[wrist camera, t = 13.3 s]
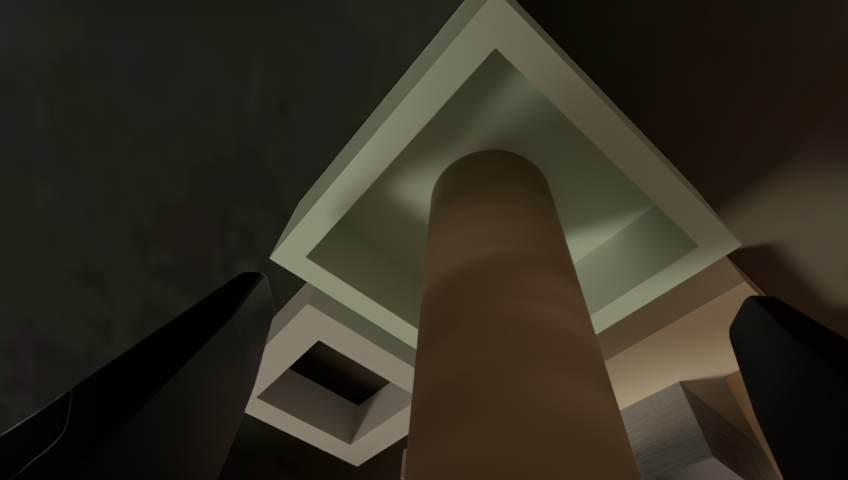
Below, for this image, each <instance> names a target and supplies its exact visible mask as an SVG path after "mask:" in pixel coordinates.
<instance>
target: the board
mask: <svg viewBox="0 0 848 480" xmlns="http://www.w3.org/2000/svg"><path fill="white" fill-rule="evenodd" d="M752 295H760V296H766V295H765V294H764V293H763V292H762V291H761V290H760V289H759V288H758V287H757V286H756V285H755V284H754V283H753V282H752V281H751V280H750V279H749V278H748V277H747V276H746V275H745V274H744V273H743V272H742V271H741V270H740V269H739V268H738V267H737V266H736V265H735V264H734V263H733V262H732V261H731V260H730V259H729V258H728V257H727V256H724V257H722V258H721V259H719V260H718V261H716V262H714V263H713V264H711V265H709V266H708V267H706V268H704V269H703V270H701V271H700V272H698V273H696V274H695V275H693V276H691V277H690V278H688V279H686V280H685V281H683V282H682V283H680V284H678V285H677V286H675V287H673V288H672V289H670V290H668V291H667V292H665V293H664V294H662V295H660V296H659V297H657V298H655V299H654V300H652V301H651V302H649V303H647V304H646V305H644V306H642V307H641V308H639V309H637V310H636V311H634V312H633V313H631V314H629V315H628V316H626V317H624V318H623V319H621V320H619V321H618V322H616V323H615V324H613V325H611V326H610V327H608V328H606V329H605V330H603V331H601V332H600V333H598V334H597V335H596V337H597V340H598V343H599V346H600V350H601V353H602V356H603V359H604V362H605V365H606V369H607V372H608V375H609V378H610V381H611V384H612V388H613V391H614V394H615V397H616V400H617V403H618V407H619V410H622V409H624V408H626V407H628V406H630V405H632V404H634V403H636V402H638V401H640V400H642V399H644V398H646V397H648V396H650V395H652V394H654V393H656V392H658V391H660V390H662V389H664V388H666V387H668V386H670V385H672V384H674V383H676V382H678V381H679V382H680V383H681V384H683V385H684V386H685V387H686V388H688V389H689V390H690V391H691V392H693V393H694V394H695V395H696V396H698V397H699V398H700V399H701V400H702V401H704V402H705V403H706V404H707V405H709V406H710V407H711V408H712V409H714V410H715V411H716V412H717V413H719V414H720V415H721V416H722V417H723V418H725V419H726V420H727V421H728V422H730V423H731V424H732V425H733V426H735V427H736V428H737V429H738V430H740V431H741V432H742V433H743V434H744V435H746V436H747V437H748V438H749V439H751V440H752V441H753V442H754V443H756V444H757V445H758V446H759V447H761V448H762V449H763V450H764V451H765V453H766V454H767V456H768V458H769V460H770V462H771V463H772V465H773V467H774V469H775V471H776V472H777V474H778V476H779V477H780V478H781V479H782V480H783V478H782V475H781V473H780V471H779V469H778V467H777V464H776V462H775V460H774V458H773V455H772V453H771V451H770V449H769V447H768V444H767V442H766V440H765V438H764V435H763V433H762V431H761V429H760V426H759V424H758V422H757V419H756V417H755V415H754V412H753V409H752V406H751V404H750V401H749V398H748V395H747V391H746V388H745V385H744V382H743V379H742V376H741V373H740V370H739V367H738V364H737V361H736V358H735V355H734V351H733V348H732V345H731V342H730V338H729V329H730V325H731V323H732V322H733V320H734V318H735V316H736V314H737V312H738V310H739V309H740V307H741V305H742V303H743V301H744V300H745V299H746V298H747V297H748V296H752ZM406 453H407V448H406V449H404V450H403V459H402V468H401V478H400V479H402V480H404V473H405V463H406Z"/></svg>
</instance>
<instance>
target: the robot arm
mask: <svg viewBox="0 0 848 480" xmlns="http://www.w3.org/2000/svg"><path fill="white" fill-rule="evenodd" d="M273 315H274V303H273V299H272V294H271V290H270V286H269V282H268V279H267V276H266V275H265V274H264V273H259V272H243V273H241V274H239V275H238V276H237V277H235V278H234V279H232V280H231V281H229V282H228V283H226V284H225V285H223V286H222V287H220V288H219V289H217V290H216V291H214V292H213V293H211V294H210V295H208V296H207V297H206V298H204V299H203V300H201V301H200V302H198V303H197V304H195V305H194V306H192V307H191V308H189V309H188V310H186V311H185V312H183V313H182V314H180V315H179V316H177V317H176V318H175V319H173V320H172V321H170V322H169V323H167V324H166V325H164V326H163V327H161V328H160V329H158V330H157V331H155V332H154V333H152V334H151V335H149V336H148V337H146V338H145V339H144V340H142V341H141V342H139V343H138V344H136V345H135V346H133V347H132V348H130V349H129V350H127V351H126V352H124V353H123V354H121V355H120V356H118V357H117V358H115V359H114V360H112V361H111V362H110V363H108V364H107V365H105V366H104V367H102V368H101V369H99V370H98V371H96V372H95V373H93V374H92V375H90V376H89V377H87V378H86V379H84V380H83V381H81V382H80V383H78V384H77V385H76V386H74V387H73V388H72V389H71V392H69V391H67V392H65V393H64V394H62V395H61V396H59V397H58V398H56V399H55V400H53V401H52V402H50V403H49V404H47V405H46V406H44V407H43V408H41V409H40V410H38V411H37V412H35V413H34V414H32V415H31V416H29V417H28V418H26V419H24V420H23V421H21V422H20V423H18V424H17V425H15V426H14V427H12V428H11V429H9V430H8V431H6V432H4V433H3V434H1V435H0V480H218V478H219V475H220V473H221V470H222V468H223V465H224V462H225V460H226V457H227V455H228V452H229V450H230V447H231V445H232V442H233V440H234V437H235V435H236V432H237V430H238V427H239V424H240V422H241V419H242V417H243V414H244V412H245V409H246V407H247V404H248V402H249V399H250V397H251V394H252V391H253V388H254V386H255V382H256V379H257V375H258V372H259V368H260V364H261V360H262V357H263V353H264V349H265V345H266V342H267V338H268V334H269V330H270V327H271V323H272V319H273ZM729 338H730V342H731V345H732V348H733V351H734V355H735V358H736V361H737V364H738V367H739V370H740V373H741V376H742V379H743V382H744V385H745V388H746V391H747V395H748V398H749V401H750V404H751V406H752V409H753V412H754V415H755V417H756V419H757V422H758V424H759V426H760V429H761V431H762V433H763V435H764V438H765V440H766V442H767V444H768V447H769V449H770V451H771V453H772V455H773V458H774V460H775V462H776V464H777V467H778V469H779V471H780V473H781V475H782V478H783V480H848V340H847V339H845V338H844V337H842V336H840V335H839V334H837V333H835V332H834V331H832V330H830V329H828V328H827V327H825V326H823V325H822V324H820V323H818V322H817V321H815V320H813V319H812V318H810V317H808V316H807V315H805V314H803V313H802V312H800V311H798V310H797V309H795V308H793V307H791V306H790V305H788V304H786V303H785V302H783V301H781V300H780V299H778V298H776V297H773V296H760V295H752V296H748V297H747V298H746V299H745V300H744V301H743V303H742V305H741V307H740V309H739V310H738V312H737V314H736V316H735V318H734V320H733V322H732V323H731V325H730V329H729Z"/></svg>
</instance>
